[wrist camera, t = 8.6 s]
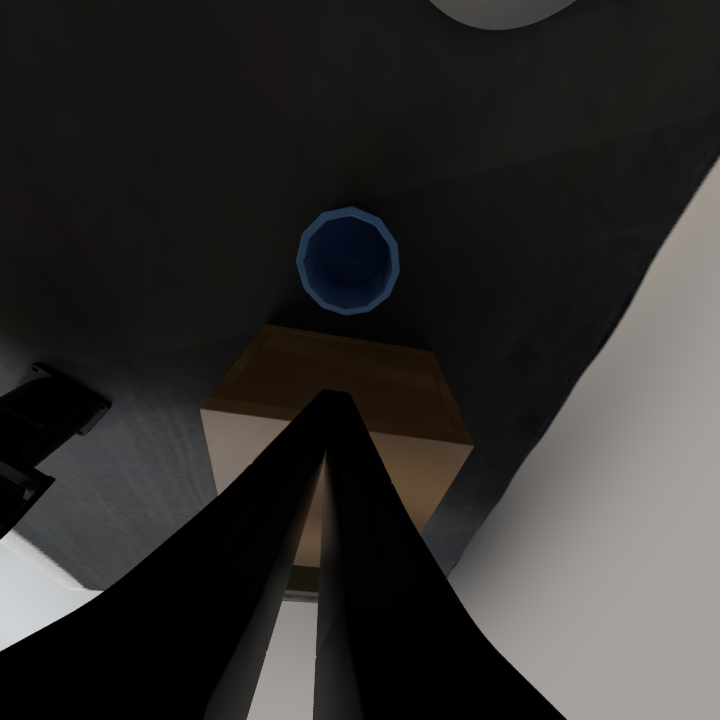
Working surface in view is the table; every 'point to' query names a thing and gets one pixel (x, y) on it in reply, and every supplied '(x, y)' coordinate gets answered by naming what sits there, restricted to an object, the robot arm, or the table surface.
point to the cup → (348, 260)
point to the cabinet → (372, 398)
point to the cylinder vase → (500, 12)
